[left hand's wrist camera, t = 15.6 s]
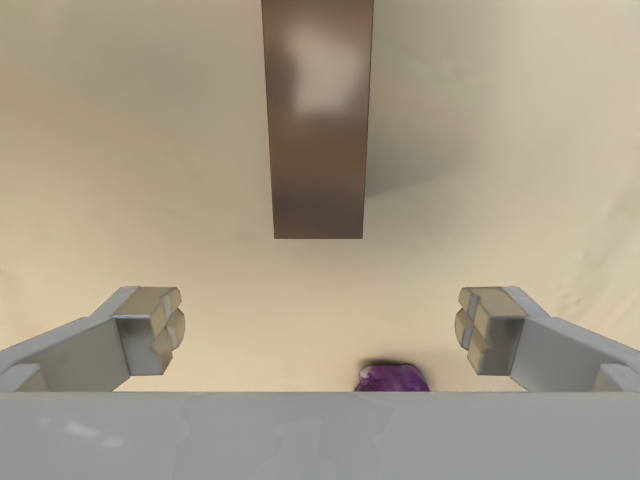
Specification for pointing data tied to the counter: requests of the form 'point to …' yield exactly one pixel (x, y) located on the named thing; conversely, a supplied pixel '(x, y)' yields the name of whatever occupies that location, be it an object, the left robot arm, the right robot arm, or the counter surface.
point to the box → (317, 114)
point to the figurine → (391, 379)
